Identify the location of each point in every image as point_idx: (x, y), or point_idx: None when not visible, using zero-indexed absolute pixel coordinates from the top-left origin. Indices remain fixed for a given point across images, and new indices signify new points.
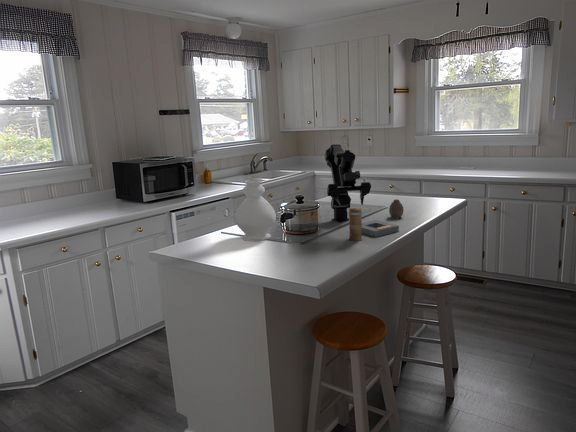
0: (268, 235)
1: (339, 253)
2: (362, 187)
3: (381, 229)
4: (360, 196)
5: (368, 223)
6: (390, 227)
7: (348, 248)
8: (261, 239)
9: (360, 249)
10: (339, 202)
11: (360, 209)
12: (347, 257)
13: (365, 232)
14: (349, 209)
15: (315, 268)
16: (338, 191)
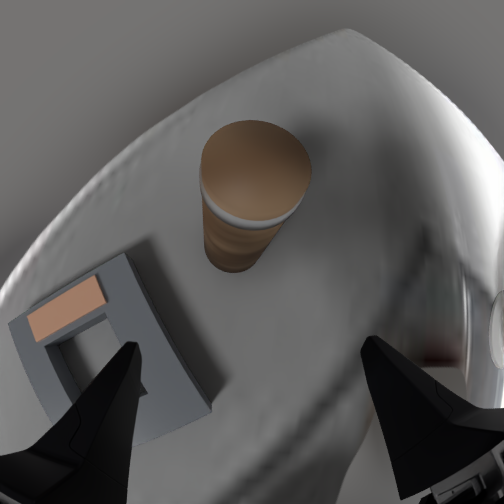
0: (495, 326)
1: (316, 110)
2: (25, 500)
3: (86, 278)
4: (120, 491)
5: None
6: (41, 303)
7: None
8: (501, 292)
9: None
10: (395, 355)
11: (219, 133)
12: (296, 82)
13: (161, 323)
14: (310, 164)
15: (362, 65)
16: (476, 426)
